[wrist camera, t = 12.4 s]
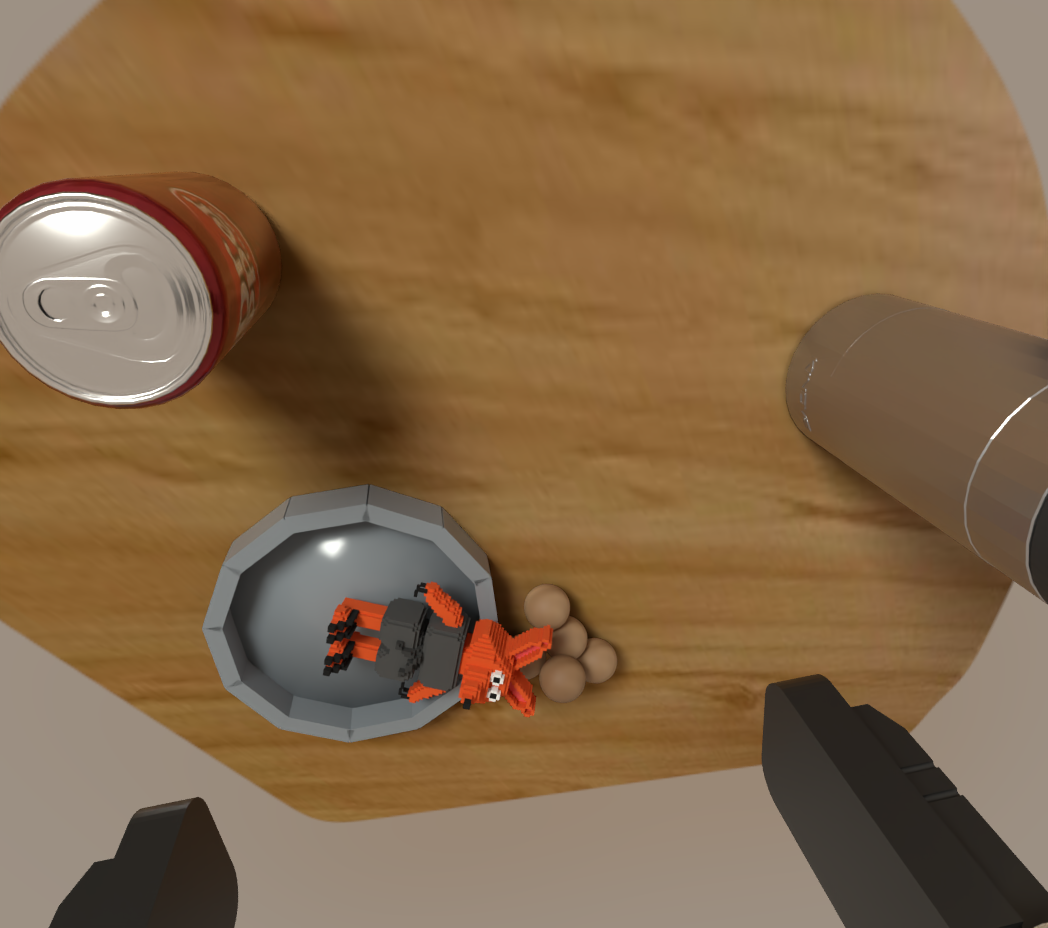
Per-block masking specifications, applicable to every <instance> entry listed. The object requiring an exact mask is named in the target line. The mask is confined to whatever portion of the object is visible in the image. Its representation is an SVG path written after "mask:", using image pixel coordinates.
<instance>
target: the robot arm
mask: <svg viewBox="0 0 1048 928" xmlns="http://www.w3.org/2000/svg"><path fill="white" fill-rule="evenodd" d="M786 402H787V405H788V409H789V412H790V416H791V417H792V419H793V421H794V422H795V424H796V426H797V427H798V428H799V429H800V430H801V431H802V432H803V433H804V434H805V435H806V436H807V437H808V438H810V439H811V440H813V441H814V442H815V443H817V444H818V445H820V446H821V447H823V448H824V449H825V450H827V451H828V452H830V453H831V454H833V455H834V456H835V457H837V458H838V459H840V460H841V461H842V462H844V463H845V464H846V465H848V466H849V467H851V468H852V469H854V470H855V471H856V472H858V473H859V474H861V475H862V476H864V477H865V478H867V479H868V480H869V481H871V482H872V483H874V484H875V485H877V486H878V487H879V488H881V489H882V490H884V491H885V492H887V493H888V494H889V495H891V496H892V497H894V498H895V499H897V500H898V501H900V502H901V503H902V504H904V505H905V506H907V507H908V508H910V509H911V510H912V511H914V512H915V513H917V514H918V515H920V516H921V517H922V518H924V519H925V520H927V521H928V522H930V523H931V524H933V525H934V526H935V527H937V528H938V529H940V530H941V531H943V532H944V533H945V534H947V535H948V536H950V537H951V538H953V539H954V540H955V541H957V542H958V543H960V544H961V545H963V546H964V547H966V548H967V549H968V550H970V551H971V552H973V553H974V554H976V555H977V556H978V557H980V558H981V559H983V560H984V561H986V562H987V563H988V564H990V565H991V566H993V567H995V568H996V569H998V570H999V571H1000V572H1002V573H1003V574H1005V575H1006V576H1008V577H1009V578H1011V579H1012V580H1013V581H1015V582H1016V583H1018V584H1019V585H1021V586H1022V587H1024V588H1025V589H1026V590H1028V591H1029V592H1031V593H1032V594H1033V595H1035V596H1036V597H1038V598H1039V599H1041V600H1042V601H1043V602H1045V603H1046V604H1048V340H1047V339H1044V338H1040V337H1037V336H1033V335H1030V334H1026V333H1023V332H1019V331H1016V330H1012V329H1009V328H1005V327H1002V326H998V325H995V324H991V323H988V322H984V321H981V320H977V319H973V318H970V317H966V316H963V315H959V314H956V313H952V312H950V311H947V310H943V309H940V308H936V307H933V306H929V305H926V304H922V303H919V302H915V301H912V300H908V299H905V298H901V297H898V296H894V295H885V294H872V295H865V296H860V297H857V298H854V299H852V300H849V301H846V302H844V303H842V304H841V305H839V306H837V307H835V308H834V309H832V310H830V311H829V312H828V313H827V314H825V315H824V316H823V317H822V318H821V319H819V320H818V321H817V322H816V323H815V324H814V325H813V326H812V328H811V329H810V330H809V331H808V332H807V334H806V335H805V336H804V337H803V339H802V341H801V342H800V344H799V346H798V347H797V349H796V351H795V353H794V355H793V358H792V361H791V363H790V366H789V369H788V374H787V380H786ZM762 766H763V772H764V776H765V780H766V783H767V786H768V789H769V791H770V794H771V796H772V798H773V801H774V803H775V805H776V806H777V808H778V810H779V812H780V813H781V815H782V817H783V819H784V820H785V822H786V824H787V826H788V827H789V829H790V831H791V833H792V834H793V836H794V838H795V840H796V842H797V843H798V845H799V847H800V849H801V850H802V852H803V854H804V856H805V857H806V859H807V861H808V862H809V864H810V866H811V868H812V870H813V871H814V873H815V875H816V877H817V878H818V880H819V882H820V884H821V885H822V887H823V889H824V891H825V892H826V894H827V896H828V898H829V899H830V901H831V903H832V904H833V906H834V908H835V910H836V912H837V913H838V915H839V917H840V919H841V920H842V922H843V924H844V926H845V927H846V928H1048V892H1047V891H1046V890H1045V889H1044V887H1043V886H1042V885H1041V884H1040V883H1039V882H1038V881H1037V879H1036V878H1035V877H1034V876H1033V875H1032V874H1031V873H1030V871H1029V870H1028V869H1027V868H1026V867H1025V866H1024V864H1023V863H1022V862H1021V861H1020V860H1019V859H1018V858H1017V857H1016V855H1014V853H1013V852H1012V851H1011V850H1010V849H1009V847H1008V846H1007V845H1006V844H1005V843H1004V842H1003V841H1002V839H1001V838H1000V837H999V836H998V835H997V834H996V832H995V831H994V830H993V829H992V828H991V827H990V826H989V824H988V823H987V822H986V821H985V820H984V819H983V818H982V816H981V815H980V814H979V813H978V812H977V811H976V809H975V808H974V807H973V806H972V805H971V804H970V803H969V801H968V800H967V799H966V798H965V797H964V796H963V795H961V796H960V795H959V794H958V792H957V788H956V787H955V785H954V784H953V783H952V782H951V781H950V780H949V778H948V777H947V776H946V775H945V774H944V773H943V772H942V770H941V769H940V768H939V767H938V768H936V767H935V766H934V764H933V760H932V759H931V758H930V757H929V756H928V754H927V753H926V752H925V751H924V750H923V749H922V748H921V746H920V745H919V744H918V743H917V742H916V741H915V739H914V738H913V737H912V736H911V735H910V734H909V733H908V731H907V730H906V729H905V728H903V727H902V726H900V725H899V724H897V723H896V722H894V721H893V720H891V719H890V718H888V717H887V716H885V715H884V714H882V713H881V712H879V711H877V710H876V709H874V708H873V707H871V706H870V705H868V704H865V705H860V706H855V707H850V706H849V704H848V703H847V702H846V701H845V699H844V698H843V697H842V696H841V694H840V693H839V692H838V691H837V690H836V688H835V687H834V686H833V685H832V683H831V682H830V681H829V680H828V679H827V678H826V677H824V676H822V675H820V674H816V675H811V676H806V677H801V678H796V679H791V680H786V681H781V682H776V683H771V684H769V685H768V686H767V688H766V693H765V708H764V725H763V743H762ZM237 908H238V885H237V877H236V872H235V869H234V866H233V863H232V861H231V859H230V857H229V854H228V852H227V850H226V847H225V845H224V843H223V840H222V838H221V836H220V834H219V831H218V829H217V827H216V825H215V822H214V820H213V818H212V815H211V813H210V811H209V808H208V806H207V804H206V802H205V801H204V800H203V799H202V798H199V797H196V798H191V799H186V800H181V801H177V802H172V803H166V804H161V805H157V806H152V807H147V808H142V809H140V810H138V811H137V812H136V813H135V814H134V815H133V817H132V818H131V820H130V822H129V824H128V826H127V828H126V831H125V834H124V836H123V838H122V841H121V843H120V845H119V848H118V850H117V853H116V855H115V858H114V859H109V860H104V861H99V862H94V863H93V865H92V866H91V867H90V869H89V870H88V871H87V872H86V873H85V875H84V876H83V877H82V878H81V879H80V881H79V882H78V883H77V884H76V886H75V887H74V888H73V889H72V891H71V892H70V893H69V894H68V895H67V897H66V898H65V899H64V900H63V902H62V903H61V904H60V905H59V907H58V909H57V911H56V913H55V915H54V918H53V920H52V922H51V924H50V926H49V928H234V926H235V921H236V915H237Z"/></svg>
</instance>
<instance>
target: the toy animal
mask: <svg viewBox="0 0 1048 928" xmlns="http://www.w3.org/2000/svg"><path fill="white" fill-rule="evenodd" d="M420 587H424V588H425V589H424V588H420ZM418 592H421V593H424V596H426V602H427V603H429V604H428V605H429V606H431V608H432V609H433V610H434V611H433V613H432V616H431V619H430V621H429V619H427V612H428V609H427V608H425V605H423V603H421V602H416V601H412V600H407V599H403V598H398V599H394V600H393V601H390V603H389V605H388V606H384V605H379V604H374V603H370V602H365V601H361V600H356V599H351V598H347V597H345V599H344V601H343V602H342V604H341V605H340V604H339V605H338V606H337V608H336V609H335V611H334V615H333V619H332V621H331V622H330V624H329V626H328V630H327V632H329V635H328V636H327V639H326V643H328V644H331V646H330V648H329V652H328V654H327V656H326V657H325V659H324V665H326V666H325V668H324V670H323V675H324V676H330V674H331V672H332V673H337V674H338V672H339V670H344V671H346V670H347V669H348V667H349V665H350V663H351V661H352V659H353V657H356V658H361V659H365V660H370V661H374V662H375V668H374V670H375V671H377V674H379V676H380V677H383V678H388V679H393V680H397V681H402V683H401V688H399V692H398V695H401V698H404V699H408V700H409V702H411V703H416V701H417V702H419V700H423V698H427V699H429V697H432V696H433V695H435V696H439V694H442V693H443V692H444V693H446V691H448V690H452V688H455V687H456V684H457V680H458V676H459V674H462V675H463V678H462V683H461V687H460V692H459V697H458V698H461V702H460V703H464V704H463V708H464V709H468V710H469V709H470V705H471V703H472V704H474V703H475V702H476V703H483V704H485V701H486V702H488V701H490V702H492V701H493V702H495V701H496V700H499V698H500V696H502V697H503V696H505V699H507V700H508V703H510V706H513V708H512V709H517V710H521V713H523V714H524V716H525V717H530V715H532V716H533V715H534V711H535V702H536V696H534V693H532V685H531V684H530V682H529V681H527V680H528V679H527V678H525V675H523V672H520V669H519V668H522V666H526V664H530V662H534V660H538V658H541V657H542V653H543V651H547V649H551V645H552V634H553V628H550V625H547V626H544V627H543V628H535V627H533V629H531V628H530V630H529V631H528V630H526V633H524V632H523V633H522V635H521V634H519V635H518V637H517V636H515V639H514V638H511V635H509V633H506V631H504V628H503V627H501V624H498V623H496V622H495V621H493V620H490V619H483V620H482V619H480V621H476V624H475V628H474V632H473V634H472V633H468V629H469V624H470V619H471V618H469V617H468V614H465V612H462V607H460V604H458V603H457V601H454V600H453V599H451V596H449V595H448V594H447V593H445V592H443V590H442V589H441V588H440V585H437V583H435V582H431V583H422V582H421V584H420V585H419V584H417V587H416V589H415V591H414V597H417V596H418ZM357 626H359V627H364V628H369V629H373V630H378V631H380V633H379V638H375V637H370V636H365V635H361V634H360V632H356V631H355V629H356V627H357ZM418 668H420V670H419V676H418V680H417V682H414V684H413V687H412V686H410V688H406V687H404V685H405V680H409V678H410V679H412V677H413V675H414V672H415V670H417V669H418ZM402 689H403V692H407V693H408V694H403V693H402Z"/></svg>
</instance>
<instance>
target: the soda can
mask: <svg viewBox="0 0 1048 928" xmlns="http://www.w3.org/2000/svg"><path fill="white" fill-rule="evenodd" d="M281 270H282V262H281V254H280V248H279V245H278V242H277V238H276V235H275V233H274V231H273V229H272V227H271V225H270V223H269V221H268V220H267V218H266V217H265V215H264V214H263V213H262V212H261V210H260V209H259V208H258V206H257V205H256V204H255V203H254V202H253V201H252V200H250V199H249V198H248V197H247V196H246V195H245V194H244V193H243V192H241V191H239V190H238V189H236V188H235V187H233V186H232V185H230V184H229V183H227V182H224V181H222V180H220V179H217V178H215V177H213V176H209V175H205V174H200V173H196V172H162V173H146V174H130V175H114V176H98V177H82V178H67V179H62V180H56V181H51V182H45V183H42V184H39V185H37V186H35V187H33V188H30V189H28V190H26V191H23V192H21V193H20V194H18V195H17V196H16V197H15V198H13V199H12V200H11V201H9V202H8V203H7V204H5V205H4V206H3V207H2V208H1V210H0V342H1V344H2V345H3V346H4V348H5V349H6V350H7V352H8V353H9V354H10V356H11V357H12V358H13V359H14V360H16V361H17V362H18V363H19V364H20V365H21V366H22V367H23V368H24V369H25V370H26V371H27V372H28V373H29V374H31V375H32V376H34V377H35V378H36V379H38V380H39V381H41V382H42V383H44V384H45V385H47V386H48V387H49V388H51V389H53V390H55V391H58V392H60V393H62V394H64V395H66V396H68V397H70V398H72V399H75V400H78V401H82V402H85V403H88V404H91V405H95V406H101V407H108V408H115V409H138V408H147V407H152V406H156V405H161V404H165V403H167V402H169V401H172V400H174V399H177V398H179V397H181V396H183V395H185V394H186V393H188V392H189V391H190V390H192V389H193V388H195V387H196V386H197V385H199V384H200V383H201V382H202V381H203V380H204V378H205V377H206V376H207V375H208V374H209V373H210V372H211V371H212V370H213V369H214V368H215V366H216V365H217V364H218V363H219V362H220V361H221V360H222V359H223V358H224V357H225V356H226V354H227V353H228V352H229V351H230V350H231V349H232V348H233V347H234V346H235V345H236V343H237V342H238V341H239V340H240V339H241V338H242V337H243V336H244V335H245V334H246V333H247V331H248V330H249V329H250V328H251V327H252V326H253V325H254V324H255V323H256V322H257V321H258V319H259V318H260V317H261V316H262V315H263V314H264V313H265V312H266V311H267V310H268V308H269V307H270V305H271V304H272V302H273V300H274V298H275V296H276V294H277V291H278V288H279V284H280V281H281Z"/></svg>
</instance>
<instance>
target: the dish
mask: <svg viewBox="0 0 1048 928" xmlns="http://www.w3.org/2000/svg"><path fill="white" fill-rule="evenodd" d="M421 582H422V583H431V582H435V583H437V585H440V588H441V589H442V590H443V592H445V593H447V594H448V595H449V596H451V599H453V600H454V601H457V603H458V604H460V607H462V612H465V614H468V617H469V618H471V619H470V624H469V629H468V633H472V634H473V632H474V628H475V624H476V621H480V619H482V620H483V619H490V620H493V621H495V622H496V623H498V618H497V612H496V605H495V598H494V592H493V585H492V579H491V573H490V568H489V563H488V558H487V555H486V553H485V552H484V551H483V550H482V549H481V548H480V547H479V546H478V545H477V544H476V543H475V542H474V541H473V539H472V538H471V537H470V536H469V535H468V534H467V533H466V532H465V531H464V530H463V529H462V528H461V527H460V526H459V525H458V524H457V522H456V521H455V520H454V519H453V518H452V517H451V516H450V515H449V514H448V513H447V512H446V511H445V510H444V509H443V508H441V506H438V505H435V504H432V503H428V502H425V501H422V500H419V499H416V498H412V497H409V496H406V495H403V494H400V493H396V492H393V491H390V490H387V489H383V488H380V487H377V486H374V485H371V484H370V485H368V484H367V485H361V486H354V487H348V488H342V489H336V490H330V491H324V492H318V493H311V494H305V495H299V496H293V497H290V498H289V499H287V500H286V501H285V502H283V503H282V504H281V505H280V506H278V507H277V508H276V509H274V510H273V511H272V512H270V513H269V514H268V515H267V516H265V517H264V518H263V519H261V520H260V521H259V522H258V523H256V524H255V525H254V526H252V527H251V528H250V529H248V530H247V531H246V532H245V533H243V534H242V535H241V536H239V537H238V538H237V539H236V540H234V541H233V542H232V545H231V547H230V549H229V551H228V554H227V556H226V558H225V560H224V562H223V565H222V567H221V570H220V574H219V577H218V580H217V583H216V586H215V589H214V592H213V596H212V599H211V602H210V605H209V608H208V611H207V614H206V617H205V621H204V624H203V627H202V628H203V629H202V630H203V633H204V635H205V638H206V640H207V643H208V646H209V648H210V651H211V654H212V656H213V659H214V661H215V664H216V667H217V669H218V672H219V675H220V677H221V680H222V682H223V685H224V688H225V689H226V690H227V691H229V692H230V693H232V694H233V695H234V696H236V697H237V698H238V699H240V700H241V701H242V702H244V703H245V704H246V705H248V706H249V707H250V708H252V709H253V710H255V711H256V712H257V713H259V714H260V715H261V716H263V717H264V718H265V719H267V720H268V721H269V722H271V723H272V724H274V725H275V726H276V727H278V728H280V727H281V728H280V729H283V730H288V731H293V732H298V733H303V734H308V735H313V736H318V737H324V738H329V739H334V740H339V741H344V742H349V741H350V742H355V741H360V740H365V739H370V738H375V737H380V736H385V735H390V734H395V733H400V732H405V731H410V730H415V729H418V728H421V727H422V726H424V725H425V724H427V723H428V722H430V721H431V720H432V719H434V718H435V717H437V716H438V715H440V714H441V713H443V712H444V711H445V710H447V709H448V708H450V707H451V706H453V705H454V704H456V703H457V702H458V701H460V700H461V698H458V697H459V692H460V687H461V683H462V678H463V675H462V674H459V676H458V680H457V684H456V687H455V688H452V690H448V691H446V693H444V692H443V693H442V694H439V696H435V695H433V696H432V697H429V699H427V698H423V700H419V702H417V701H416V703H411V702H409V700H408V699H404V698H401V695H398V692H399V688H401V683H402V681H397V680H393V679H388V678H383V677H380V676H379V674H377V671H375V670H374V668H375V662H374V661H370V660H365V659H361V658H356V657H353V659H352V661H351V663H350V665H349V667H348V669H347V670H346V671H344V670H339V672H338V674H337V673H332V672H331V674H330V676H324V675H323V670H324V668H325V666H326V665H324V659H325V657H326V656H327V654H328V652H329V648H330V646H331V644H328V643H326V639H327V636H328V635H329V632H327V630H328V626H329V624H330V622H331V621H332V619H333V615H334V611H335V609H336V608H337V606H338V605H339V604H340V605H341V604H342V602H343V601H344V599H345V597H347V598H351V599H356V600H361V601H365V602H370V603H374V604H379V605H384V606H388V605H389V603H390V601H393V600H394V599H398V598H403V599H407V600H412V601H416V602H421V603H423V605H425V608H427V609H428V612H427V619H429V621H430V619H431V616H432V613H433V611H434V610H433V609H432V608H431V606H429V605H428V604H429V603H427V602H426V596H424V593H421V592H418V596H417V597H414V591H415V589H416V587H417V584H419V585H420V584H421ZM420 588H424V587H420ZM424 589H425V588H424ZM355 631H356V632H360V634H361V635H365V636H370V637H375V638H379V633H380V631H378V630H373V629H369V628H364V627H359V626H357V627H356V629H355ZM419 670H420V668H418V669H417V670H415V672H414V675H413V677H412V679H410V678H409V680H405V685H404V687H406V688H410V686H412V687H413V684H414V682H417V680H418V676H419ZM402 693H403V694H408V693H407V692H403V689H402Z"/></svg>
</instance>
